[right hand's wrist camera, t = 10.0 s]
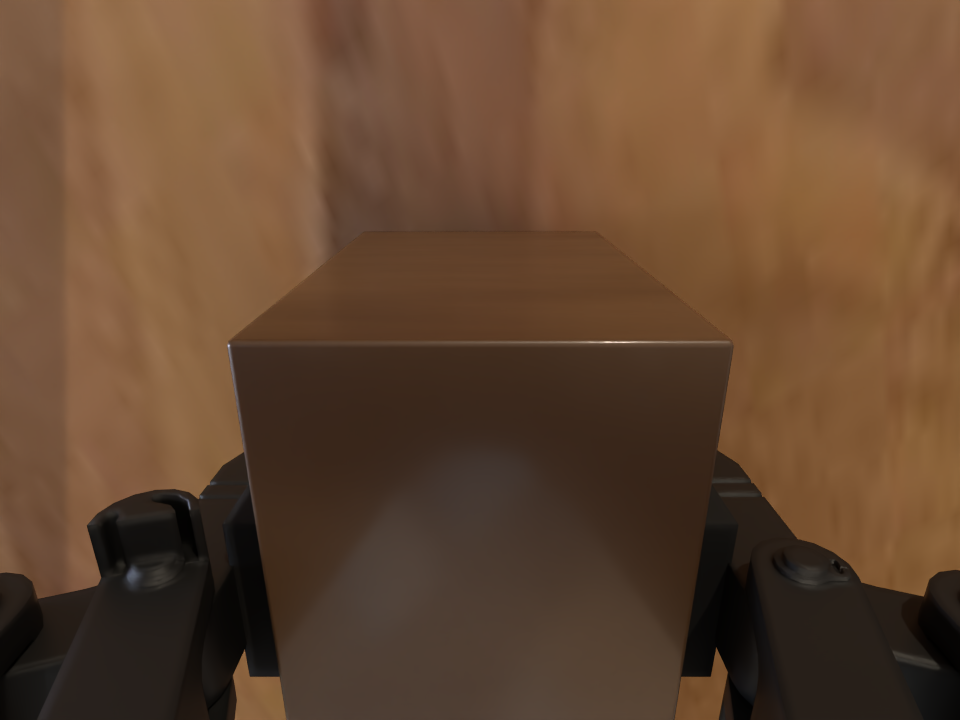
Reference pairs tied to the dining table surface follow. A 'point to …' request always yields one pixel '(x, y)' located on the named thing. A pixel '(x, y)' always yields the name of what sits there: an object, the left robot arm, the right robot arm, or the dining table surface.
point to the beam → (480, 478)
